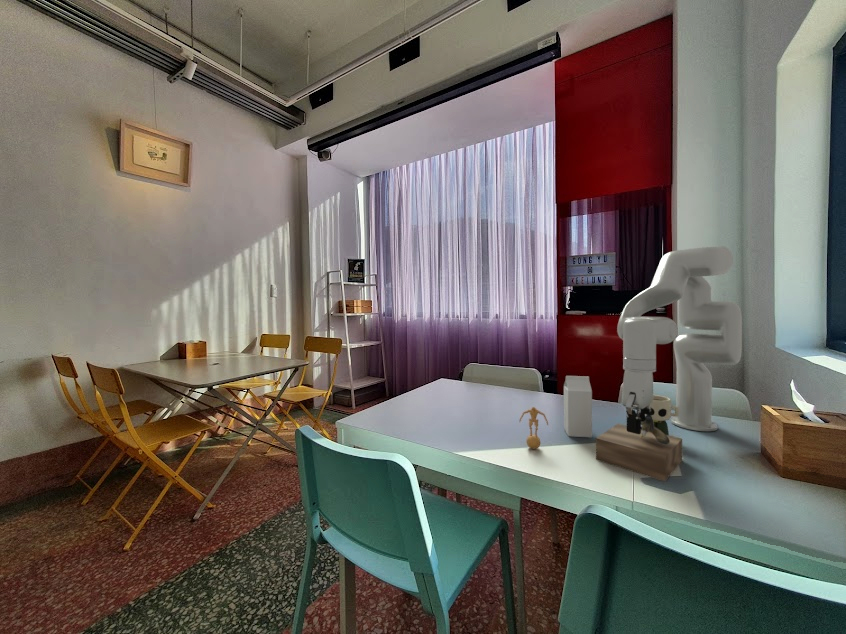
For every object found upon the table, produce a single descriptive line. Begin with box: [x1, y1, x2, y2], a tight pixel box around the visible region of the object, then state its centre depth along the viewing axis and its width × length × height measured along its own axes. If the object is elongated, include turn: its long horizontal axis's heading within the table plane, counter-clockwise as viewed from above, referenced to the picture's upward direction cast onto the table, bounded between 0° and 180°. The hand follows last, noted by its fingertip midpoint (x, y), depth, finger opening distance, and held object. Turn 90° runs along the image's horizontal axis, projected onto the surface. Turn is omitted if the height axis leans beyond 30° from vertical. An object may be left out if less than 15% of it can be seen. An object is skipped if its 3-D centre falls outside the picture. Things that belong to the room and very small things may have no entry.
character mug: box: [636, 394, 679, 436], centre depth 107 cm, size 11×7×13 cm, turn 53°
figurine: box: [519, 406, 549, 450], centre depth 103 cm, size 8×6×12 cm
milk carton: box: [563, 375, 593, 438], centre depth 113 cm, size 7×7×19 cm
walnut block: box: [595, 423, 683, 482], centre depth 93 cm, size 16×16×6 cm
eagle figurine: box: [639, 414, 670, 445], centre depth 90 cm, size 8×7×9 cm
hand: (639, 428), depth 93 cm, fingers closed on eagle figurine, 7 cm apart
